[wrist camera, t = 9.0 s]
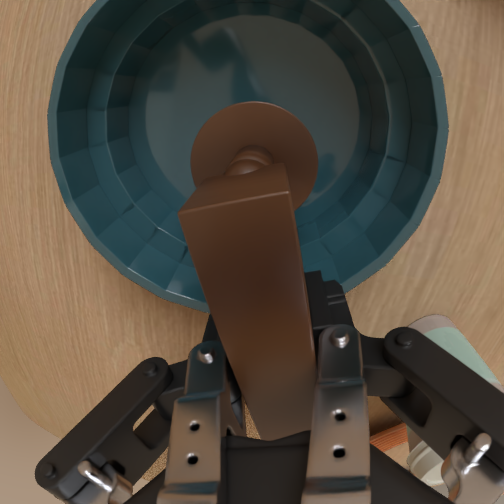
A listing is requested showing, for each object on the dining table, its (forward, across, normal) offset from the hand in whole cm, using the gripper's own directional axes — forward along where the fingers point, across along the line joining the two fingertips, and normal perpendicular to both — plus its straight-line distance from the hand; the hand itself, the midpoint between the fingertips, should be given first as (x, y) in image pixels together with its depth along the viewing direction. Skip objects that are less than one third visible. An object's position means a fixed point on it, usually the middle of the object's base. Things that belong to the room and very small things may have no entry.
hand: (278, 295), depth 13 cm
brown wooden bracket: (+4, 0, 0) cm, 4 cm away
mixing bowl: (+7, 0, -7) cm, 10 cm away
